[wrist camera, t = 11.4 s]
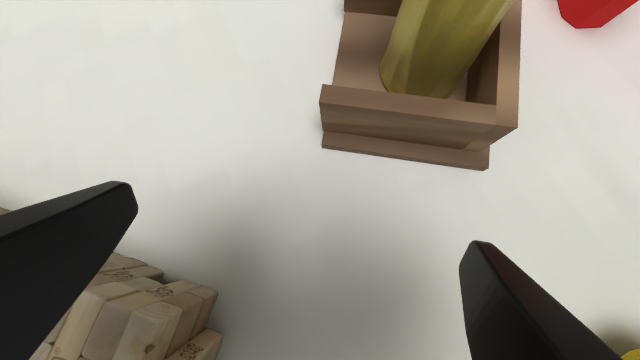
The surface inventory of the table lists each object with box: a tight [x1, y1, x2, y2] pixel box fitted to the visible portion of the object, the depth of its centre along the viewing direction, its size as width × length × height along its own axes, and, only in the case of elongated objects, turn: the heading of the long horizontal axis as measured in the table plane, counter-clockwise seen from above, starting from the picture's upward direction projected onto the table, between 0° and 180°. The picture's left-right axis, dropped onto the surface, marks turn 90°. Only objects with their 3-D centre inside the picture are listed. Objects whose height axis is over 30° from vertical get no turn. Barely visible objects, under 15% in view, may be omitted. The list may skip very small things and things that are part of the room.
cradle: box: [319, 0, 522, 171], centre depth 20 cm, size 14×12×5 cm
